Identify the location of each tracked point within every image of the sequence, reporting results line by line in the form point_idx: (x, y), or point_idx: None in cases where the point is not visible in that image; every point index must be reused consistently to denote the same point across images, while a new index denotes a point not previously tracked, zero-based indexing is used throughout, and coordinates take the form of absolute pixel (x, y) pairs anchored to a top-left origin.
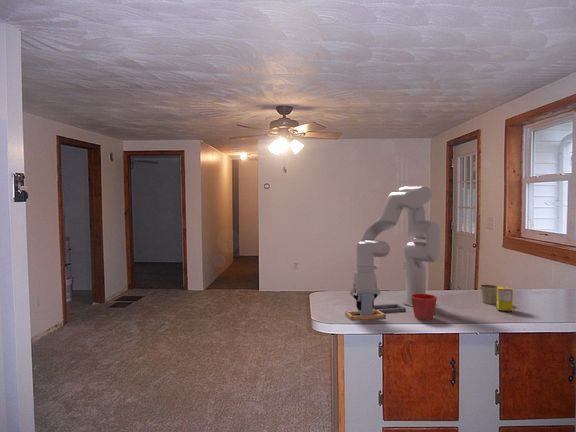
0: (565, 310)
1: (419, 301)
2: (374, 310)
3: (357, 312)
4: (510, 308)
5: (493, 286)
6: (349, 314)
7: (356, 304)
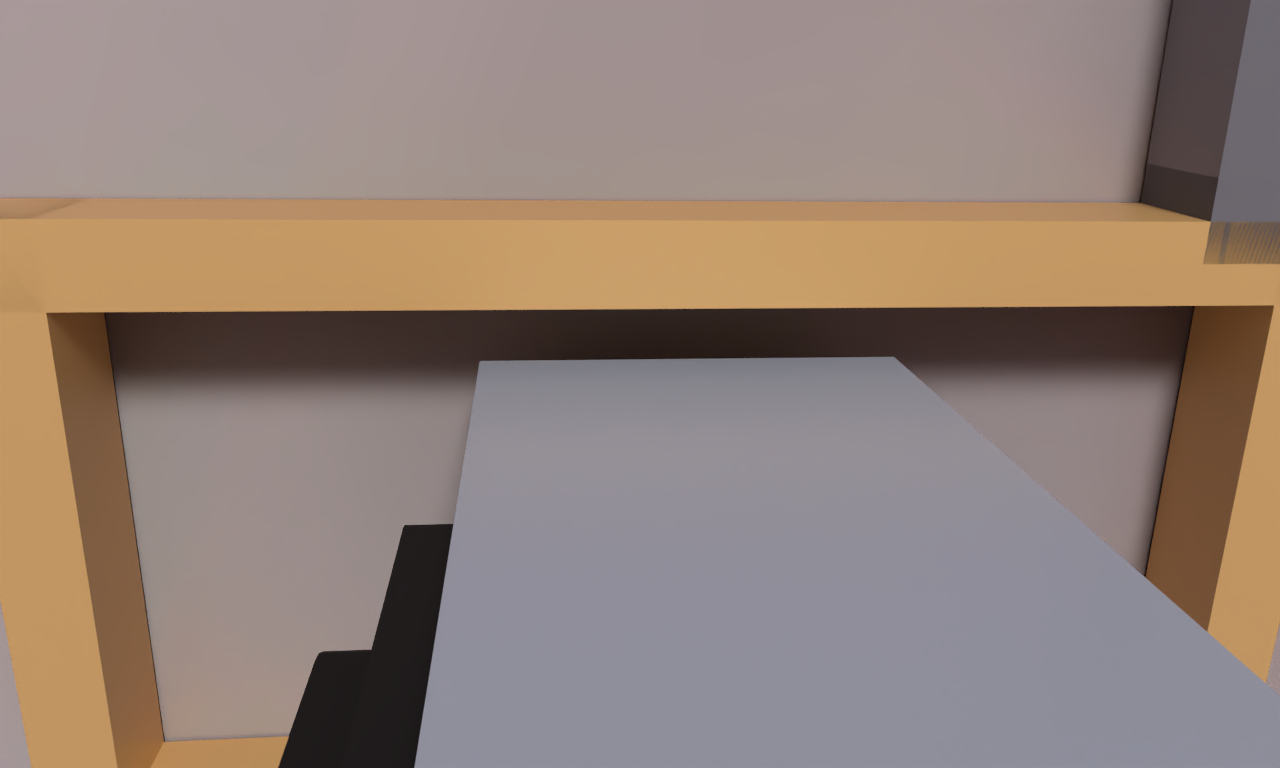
0: None
1: None
2: (1198, 303)
3: (492, 301)
4: None
5: None
6: (38, 652)
7: (299, 724)
